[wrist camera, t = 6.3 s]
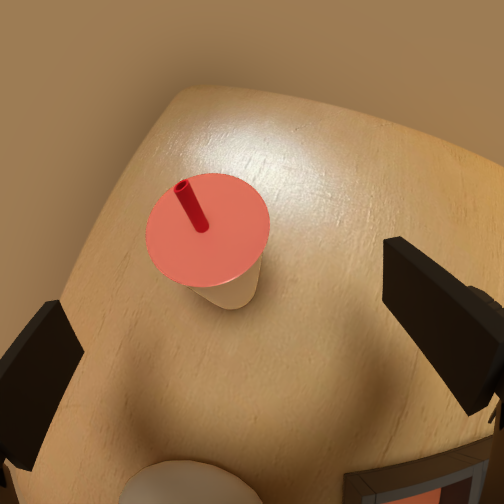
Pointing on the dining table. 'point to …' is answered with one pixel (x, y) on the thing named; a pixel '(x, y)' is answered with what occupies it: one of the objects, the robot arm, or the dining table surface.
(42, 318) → the robot arm
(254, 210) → the cup
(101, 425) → the dining table surface
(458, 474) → the grid
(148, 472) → the donut
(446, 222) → the dining table surface
